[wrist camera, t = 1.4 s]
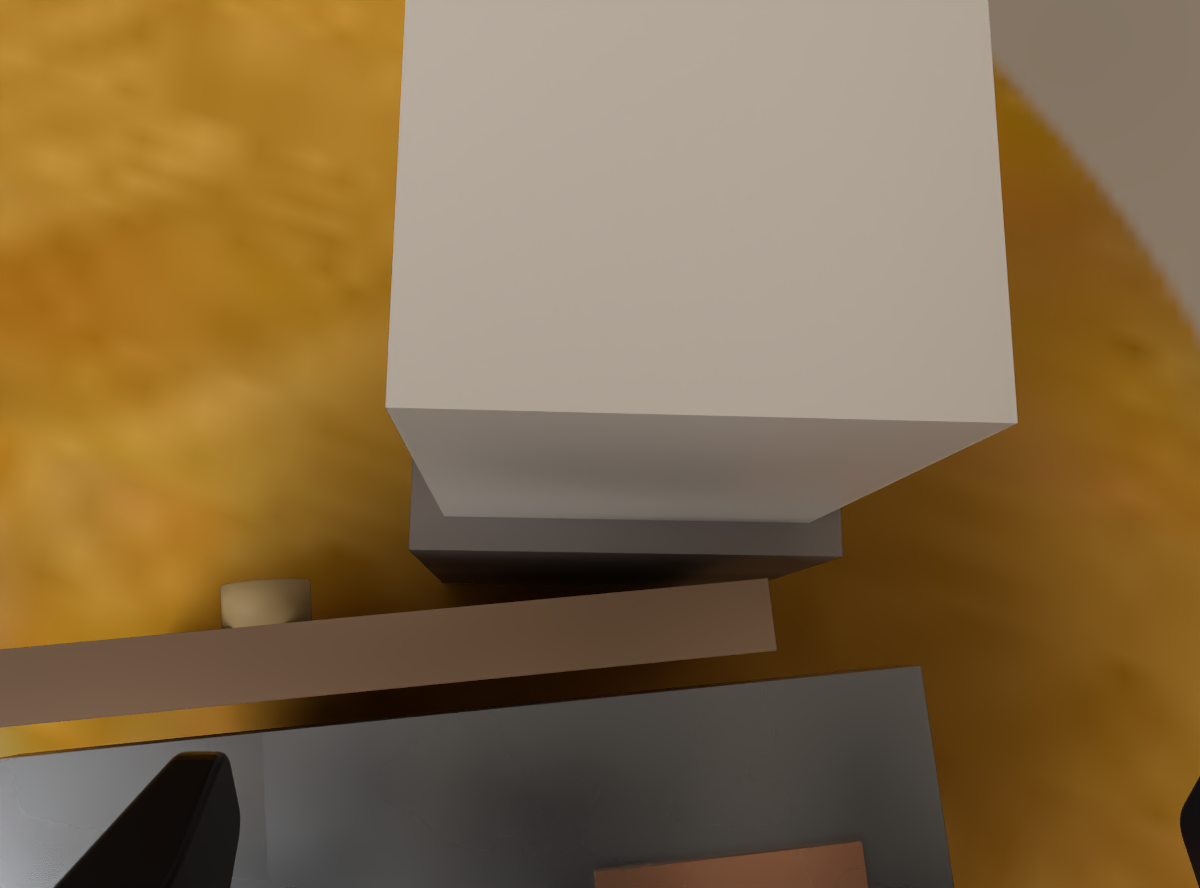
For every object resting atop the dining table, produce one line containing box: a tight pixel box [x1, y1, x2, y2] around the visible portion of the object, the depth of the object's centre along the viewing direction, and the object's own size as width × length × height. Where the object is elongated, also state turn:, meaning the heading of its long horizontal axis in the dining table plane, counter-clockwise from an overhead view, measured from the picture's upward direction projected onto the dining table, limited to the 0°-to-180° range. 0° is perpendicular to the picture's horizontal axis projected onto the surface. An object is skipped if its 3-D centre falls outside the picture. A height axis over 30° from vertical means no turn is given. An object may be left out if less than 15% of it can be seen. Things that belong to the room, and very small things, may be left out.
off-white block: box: [385, 0, 1018, 523], centre depth 13 cm, size 5×6×7 cm
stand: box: [409, 460, 843, 586], centre depth 20 cm, size 6×6×7 cm
